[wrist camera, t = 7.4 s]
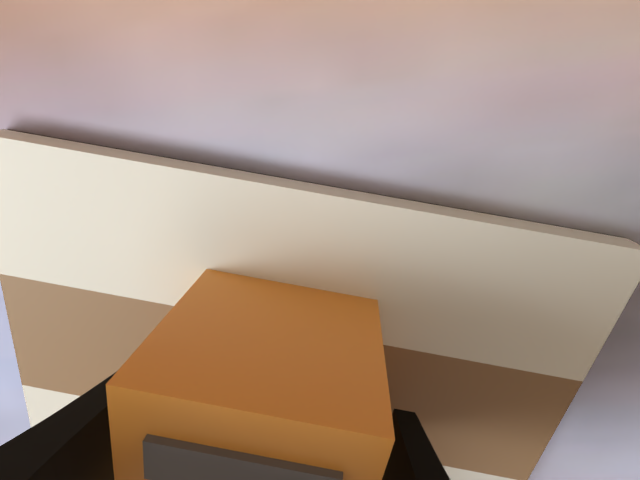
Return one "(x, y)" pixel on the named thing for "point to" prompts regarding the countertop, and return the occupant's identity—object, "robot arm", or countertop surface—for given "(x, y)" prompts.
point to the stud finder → (255, 387)
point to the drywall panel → (308, 285)
